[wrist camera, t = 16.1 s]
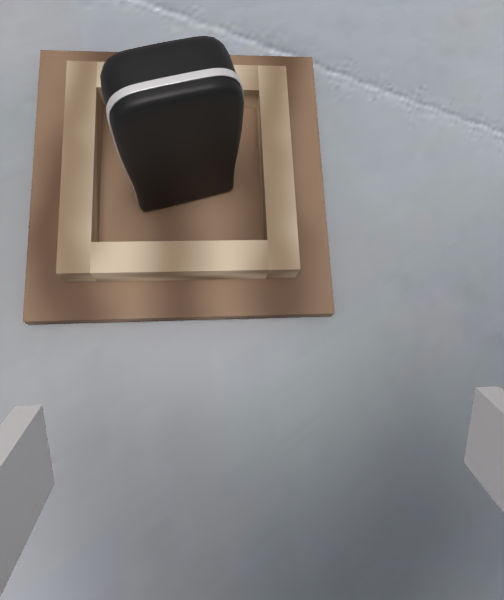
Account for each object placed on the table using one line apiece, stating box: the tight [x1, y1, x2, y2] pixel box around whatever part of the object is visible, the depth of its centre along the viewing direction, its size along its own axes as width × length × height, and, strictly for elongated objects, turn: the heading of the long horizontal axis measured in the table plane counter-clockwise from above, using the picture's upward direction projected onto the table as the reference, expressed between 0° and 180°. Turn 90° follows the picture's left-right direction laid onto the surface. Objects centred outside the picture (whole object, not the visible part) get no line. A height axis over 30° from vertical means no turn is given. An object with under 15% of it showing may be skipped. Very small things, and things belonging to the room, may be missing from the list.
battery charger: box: [100, 36, 244, 211], centre depth 28 cm, size 7×4×11 cm, turn 107°
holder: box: [23, 50, 334, 324], centre depth 33 cm, size 20×20×3 cm
